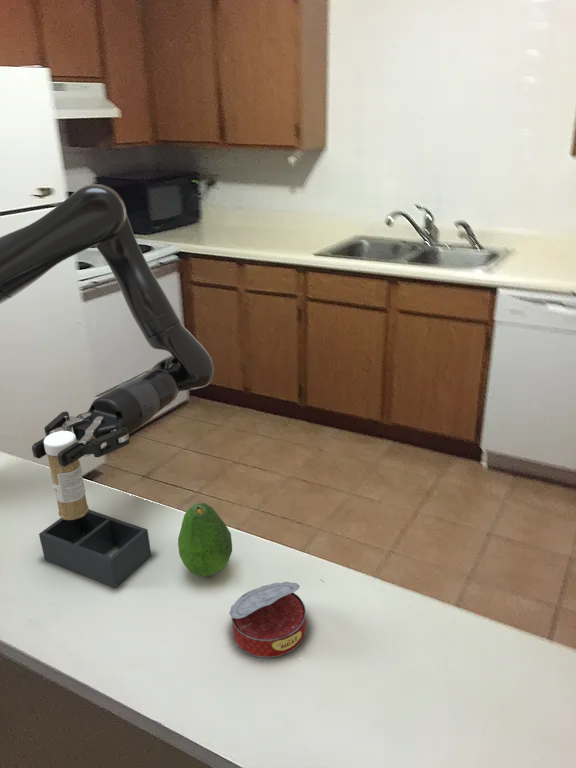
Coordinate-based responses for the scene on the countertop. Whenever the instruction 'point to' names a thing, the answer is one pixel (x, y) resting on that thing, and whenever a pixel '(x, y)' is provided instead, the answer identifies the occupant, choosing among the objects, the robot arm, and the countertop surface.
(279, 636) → the canned food
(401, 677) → the countertop surface
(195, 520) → the avocado
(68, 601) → the countertop surface
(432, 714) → the countertop surface
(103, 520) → the divided storage box
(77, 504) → the sprinkles bottle
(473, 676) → the countertop surface
